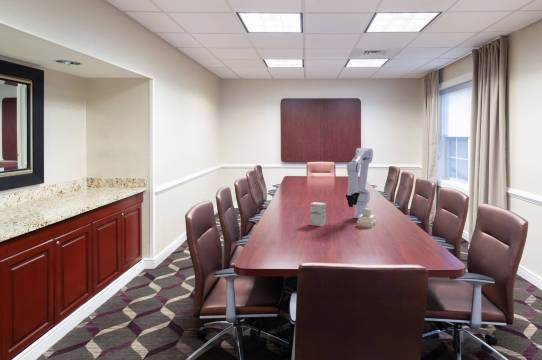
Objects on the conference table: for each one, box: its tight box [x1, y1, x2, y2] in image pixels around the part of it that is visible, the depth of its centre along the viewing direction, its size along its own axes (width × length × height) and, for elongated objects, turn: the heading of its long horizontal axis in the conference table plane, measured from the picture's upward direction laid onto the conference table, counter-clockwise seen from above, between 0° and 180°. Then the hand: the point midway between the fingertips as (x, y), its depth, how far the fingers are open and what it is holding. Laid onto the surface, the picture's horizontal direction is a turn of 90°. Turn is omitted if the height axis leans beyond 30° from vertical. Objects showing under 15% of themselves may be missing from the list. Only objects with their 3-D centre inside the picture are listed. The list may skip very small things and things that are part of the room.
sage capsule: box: [363, 208, 372, 217], centre depth 224 cm, size 4×4×4 cm
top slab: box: [357, 214, 376, 223], centre depth 224 cm, size 8×8×3 cm
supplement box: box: [309, 201, 327, 227], centre depth 225 cm, size 7×7×13 cm
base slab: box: [356, 219, 377, 229], centre depth 224 cm, size 9×9×3 cm
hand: (352, 205), depth 229 cm, fingers open, 7 cm apart
